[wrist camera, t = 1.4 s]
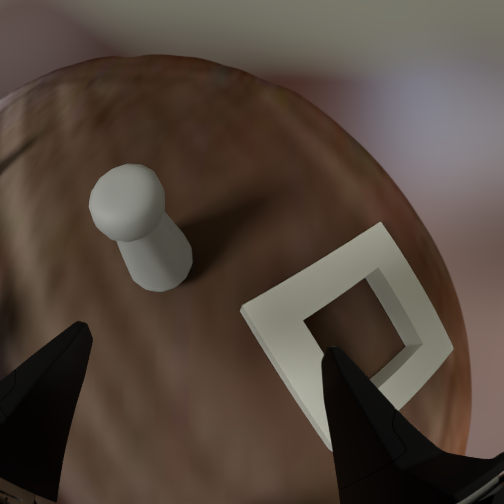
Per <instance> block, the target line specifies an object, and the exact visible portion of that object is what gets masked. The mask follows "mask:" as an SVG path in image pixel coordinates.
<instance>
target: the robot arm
mask: <svg viewBox="0 0 504 504" xmlns="http://www.w3.org/2000/svg"><path fill="white" fill-rule="evenodd" d="M92 343H93V338H92V335H91V332H90V330H89V327H88V324H87V323H85V322H81V321H77V322H75V323H74V324H72V325H71V326H70V327H68V328H67V329H66V330H64V331H63V332H62V333H60V334H59V335H58V336H56V337H55V338H54V339H53V340H51V341H50V342H49V343H47V344H46V345H45V346H44V347H42V348H41V349H40V350H38V351H37V352H36V353H35V354H33V355H32V356H31V357H30V358H28V359H27V360H26V361H25V362H23V363H22V364H21V365H20V366H18V367H17V368H16V369H15V370H13V371H12V372H11V373H10V374H9V375H7V376H6V377H5V378H3V379H2V380H1V381H0V504H37V503H36V501H35V496H36V495H38V496H40V497H43V498H45V499H48V500H50V501H53V502H57V497H58V489H59V482H60V476H61V470H62V465H63V462H62V461H63V458H64V453H65V449H66V444H67V439H68V435H69V431H70V427H71V423H72V419H73V415H74V411H75V408H76V404H77V401H78V397H79V394H80V391H81V387H82V384H83V381H84V377H85V374H86V369H87V365H88V360H89V356H90V351H91V347H92ZM321 371H322V384H323V398H324V405H325V411H326V416H327V422H328V427H329V433H330V439H331V445H332V451H333V457H334V463H335V470H336V476H337V483H338V490H339V498H340V504H504V474H502V475H500V476H499V477H498V475H499V474H500V473H501V472H502V471H504V452H502V453H500V454H499V455H497V456H496V457H495V458H492V459H480V458H473V457H467V456H462V455H456V454H451V453H447V452H445V451H443V450H441V449H439V448H438V447H437V446H435V445H434V444H433V443H432V442H431V441H430V440H428V439H427V438H426V437H425V436H424V435H423V434H421V433H420V432H419V431H418V430H417V429H416V428H415V427H414V426H413V425H412V424H410V423H409V422H408V421H407V419H406V418H405V417H404V416H403V415H402V414H401V413H400V412H399V411H398V410H397V409H395V407H394V406H393V405H392V403H391V402H390V401H389V400H388V399H387V398H386V397H385V396H384V395H383V394H382V392H381V391H380V390H379V389H378V388H377V387H376V386H375V385H374V384H373V383H372V382H371V380H370V379H369V378H368V377H367V376H366V375H365V374H364V373H363V372H362V371H361V370H360V368H359V367H358V366H357V365H356V364H355V363H354V362H353V361H352V360H351V359H350V357H349V356H348V355H347V354H346V353H345V352H344V351H343V350H342V349H341V348H340V347H339V346H329V347H328V348H327V350H326V352H325V354H324V356H323V358H322V361H321Z"/></svg>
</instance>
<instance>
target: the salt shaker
mask: <svg viewBox="0 0 504 504" xmlns="http://www.w3.org/2000/svg"><path fill="white" fill-rule="evenodd" d="M89 209H90V212H91V215H92V217H93V220H94V222H95V225H96V227H97V228H98V229H99V230H100V231H102V232H103V233H104V234H105V235H107V236H108V237H109V238H110V239H111V240H116V241H117V244H118V246H119V249H120V251H121V254H122V256H123V259H124V261H125V263H126V266H127V268H128V270H129V272H130V274H131V276H132V278H133V280H134V281H135V282H136V283H137V284H139V285H140V286H141V287H143V288H144V289H146V290H151V291H157V292H164V291H167V290H170V289H173V288H176V287H177V286H178V285H179V284H180V283H181V282H182V281H183V280H184V279H186V277H187V275H188V273H189V270H190V268H191V266H192V263H193V260H192V248H191V246H190V244H189V242H188V240H187V239H186V237H185V235H184V234H183V233H182V231H181V230H180V229H179V228H178V227H177V225H176V224H175V223H174V222H173V221H172V219H171V218H170V217H169V216H168V214H167V213H166V212H165V194H164V189H163V187H162V185H161V183H160V181H159V179H158V178H157V176H156V174H155V173H154V171H152V170H151V169H149V168H147V167H145V166H143V165H140V164H125V165H122V166H119V167H116V168H113V169H112V170H110V171H109V172H108V173H106V174H105V175H104V176H102V177H101V178H100V179H99V180H98V182H97V183H96V185H95V187H94V188H93V190H92V192H91V196H90V201H89Z"/></svg>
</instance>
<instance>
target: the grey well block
mask: <svg viewBox="0 0 504 504" xmlns="http://www.w3.org/2000/svg"><path fill="white" fill-rule="evenodd" d="M363 278H365V279H366V280H367V282H368V283H369V285H370V286H371V288H372V290H373V291H374V293H375V295H376V296H377V298H378V299H379V301H380V303H381V304H382V306H383V308H384V309H385V311H386V313H387V315H388V316H389V318H390V320H391V321H392V323H393V325H394V327H395V328H396V330H397V332H398V334H399V336H400V337H401V339H402V341H403V343H404V345H405V346H406V347H405V348H404V349H403V350H402V351H400V352H399V353H398V354H397V355H396V356H395V357H394V358H393V359H392V360H391V361H390V362H389V363H388V364H387V365H386V366H385V367H383V368H382V369H381V370H380V371H379V372H378V373H377V374H376V375H374V376H373V377H372V378H371V379H370V380H371V382H372V383H373V384H374V385H375V386H376V387H377V388H378V389H379V390H380V391H381V392H382V394H383V395H384V396H385V397H386V398H387V399H388V400H389V401H390V402H391V403H392V405H393V406H394V407H395V409H397V410H398V411H399V410H400V409H401V408H402V407H403V406H404V405H405V404H406V403H407V402H408V401H409V400H410V399H411V398H412V397H413V396H414V395H415V394H416V393H417V392H418V390H419V389H420V388H421V387H422V386H423V385H424V384H425V383H426V382H427V381H428V380H429V378H430V377H431V376H432V375H433V374H434V373H435V372H436V370H437V369H438V368H439V367H440V366H441V364H442V363H443V362H444V361H445V359H446V358H447V357H448V356H449V354H450V353H451V352H452V351H453V349H454V348H453V346H452V343H451V341H450V339H449V337H448V335H447V333H446V331H445V329H444V327H443V325H442V323H441V321H440V319H439V317H438V315H437V313H436V311H435V309H434V307H433V305H432V303H431V302H430V300H429V298H428V296H427V294H426V293H425V291H424V289H423V287H422V286H421V284H420V282H419V280H418V279H417V277H416V275H415V274H414V272H413V270H412V269H411V267H410V265H409V264H408V262H407V261H406V259H405V257H404V256H403V254H402V253H401V251H400V249H399V248H398V246H397V245H396V243H395V242H394V240H393V239H392V237H391V236H390V234H389V233H388V231H387V230H386V229H385V227H384V226H383V224H382V223H381V222H379V223H378V224H376V225H374V226H373V227H371V228H370V229H368V230H367V231H365V232H364V233H362V234H361V235H359V236H357V237H356V238H354V239H353V240H351V241H349V242H348V243H346V244H345V245H343V246H342V247H340V248H338V249H337V250H335V251H334V252H332V253H330V254H329V255H327V256H325V257H324V258H322V259H321V260H319V261H317V262H316V263H314V264H312V265H311V266H309V267H307V268H306V269H304V270H302V271H301V272H299V273H297V274H296V275H294V276H292V277H291V278H289V279H287V280H286V281H284V282H282V283H280V284H279V285H277V286H275V287H274V288H272V289H270V290H268V291H267V292H265V293H263V294H261V295H260V296H258V297H256V298H254V299H253V300H251V301H249V302H247V303H246V304H244V305H242V307H241V309H240V312H241V314H242V316H243V317H244V319H245V321H246V322H247V324H248V326H249V327H250V329H251V330H252V332H253V334H254V335H255V337H256V339H257V340H258V342H259V344H260V345H261V347H262V348H263V350H264V352H265V353H266V355H267V356H268V358H269V360H270V361H271V363H272V364H273V366H274V368H275V369H276V371H277V372H278V374H279V375H280V377H281V379H282V380H283V382H284V383H285V385H286V386H287V388H288V389H289V391H290V393H291V394H292V396H293V397H294V399H295V400H296V402H297V403H298V405H299V406H300V408H301V409H302V411H303V412H304V414H305V415H306V417H307V418H308V420H309V421H310V423H311V424H312V426H313V427H314V429H315V430H316V432H317V433H318V434H319V436H320V437H321V439H322V440H323V442H324V443H325V445H326V446H327V447H328V449H329V450H331V451H332V445H331V439H330V433H329V427H328V422H327V416H326V411H325V405H324V398H323V384H322V371H321V361H322V358H323V356H324V354H323V352H322V350H321V349H320V347H319V346H318V344H317V342H316V341H315V339H314V338H313V336H312V334H311V333H310V331H309V329H308V328H307V326H306V325H305V323H304V321H303V320H304V319H306V318H308V317H309V316H311V315H312V314H314V313H315V312H317V311H318V310H320V309H321V308H322V307H324V306H325V305H327V304H328V303H330V302H331V301H333V300H334V299H336V298H337V297H338V296H340V295H341V294H343V293H344V292H345V291H347V290H348V289H350V288H351V287H352V286H354V285H355V284H357V283H358V282H359V281H361V280H362V279H363ZM332 452H333V451H332Z"/></svg>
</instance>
